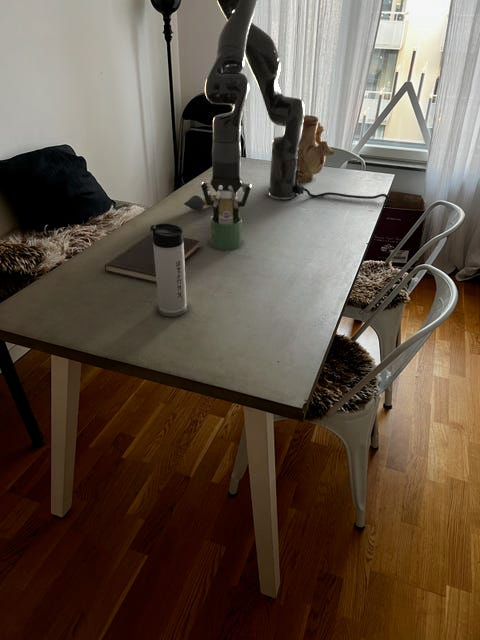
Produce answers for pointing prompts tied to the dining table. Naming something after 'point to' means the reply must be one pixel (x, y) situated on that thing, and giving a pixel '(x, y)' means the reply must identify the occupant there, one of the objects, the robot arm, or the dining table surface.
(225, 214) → the sprinkles bottle
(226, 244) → the cup
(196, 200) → the paintbrush
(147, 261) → the hardcover book
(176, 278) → the travel mug
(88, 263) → the dining table surface
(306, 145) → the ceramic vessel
